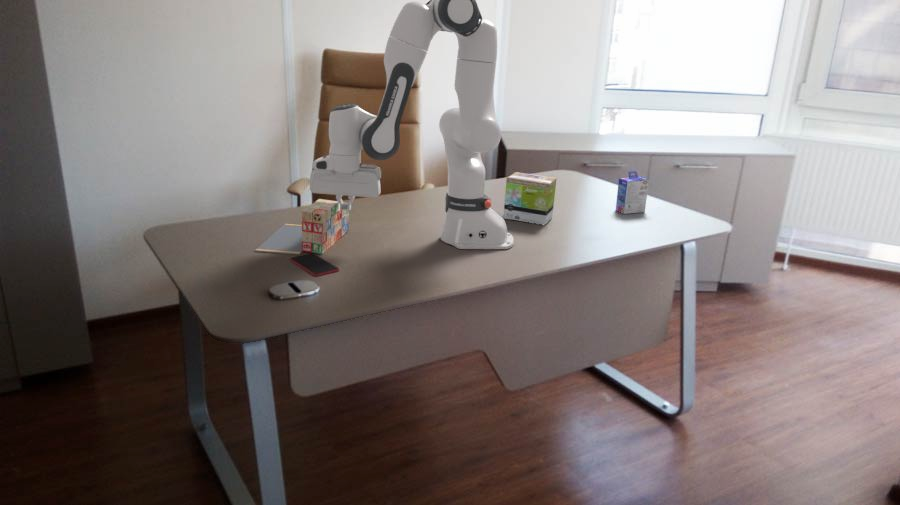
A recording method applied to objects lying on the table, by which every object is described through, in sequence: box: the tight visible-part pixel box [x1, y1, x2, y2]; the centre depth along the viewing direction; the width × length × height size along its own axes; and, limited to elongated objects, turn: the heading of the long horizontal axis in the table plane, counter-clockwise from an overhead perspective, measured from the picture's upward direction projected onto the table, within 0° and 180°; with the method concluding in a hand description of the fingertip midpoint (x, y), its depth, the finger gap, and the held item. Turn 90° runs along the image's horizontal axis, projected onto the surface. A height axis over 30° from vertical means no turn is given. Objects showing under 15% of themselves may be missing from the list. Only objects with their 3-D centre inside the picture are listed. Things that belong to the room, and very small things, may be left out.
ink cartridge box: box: [615, 170, 650, 215], centre depth 233 cm, size 10×6×14 cm, turn 114°
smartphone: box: [289, 252, 340, 277], centre depth 175 cm, size 7×1×15 cm
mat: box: [254, 223, 304, 256], centre depth 193 cm, size 13×25×1 cm, turn 174°
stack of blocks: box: [301, 198, 350, 255], centre depth 190 cm, size 21×6×12 cm, turn 168°
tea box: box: [503, 171, 557, 226], centre depth 220 cm, size 15×10×15 cm
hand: (345, 209), depth 188 cm, fingers closed
